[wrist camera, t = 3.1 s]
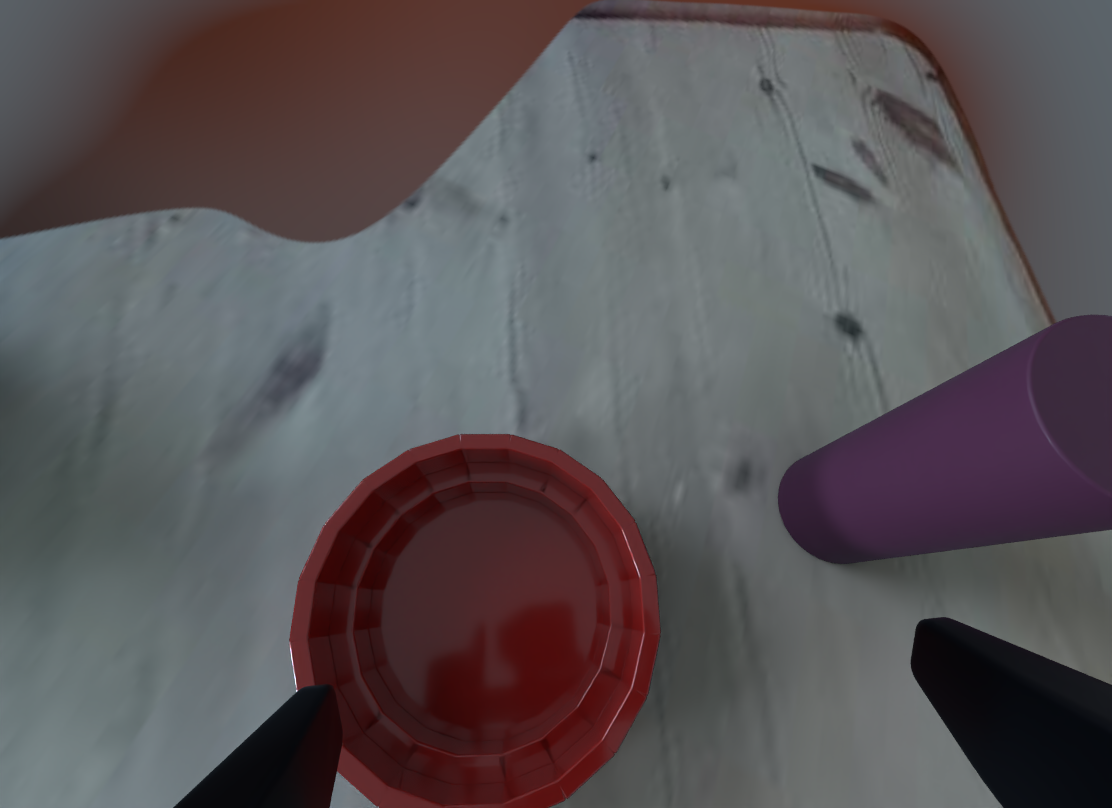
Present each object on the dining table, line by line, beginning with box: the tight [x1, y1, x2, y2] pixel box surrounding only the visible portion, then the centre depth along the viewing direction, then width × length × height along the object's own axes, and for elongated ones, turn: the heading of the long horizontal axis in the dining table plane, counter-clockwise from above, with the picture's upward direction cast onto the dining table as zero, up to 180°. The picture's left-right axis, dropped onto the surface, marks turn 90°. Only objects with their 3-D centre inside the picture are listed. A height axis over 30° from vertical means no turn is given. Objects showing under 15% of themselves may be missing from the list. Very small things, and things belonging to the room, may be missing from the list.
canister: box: [778, 315, 1112, 564], centre depth 18 cm, size 5×5×13 cm
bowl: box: [289, 434, 661, 808], centre depth 20 cm, size 12×12×4 cm
